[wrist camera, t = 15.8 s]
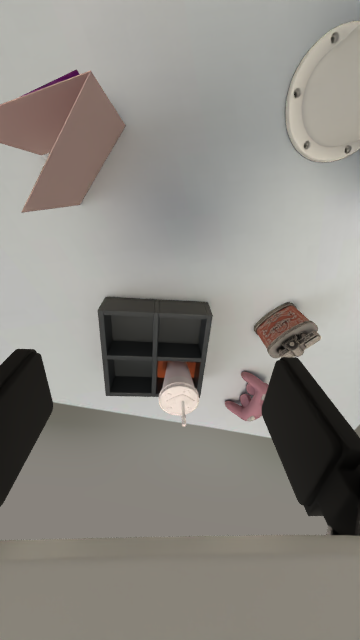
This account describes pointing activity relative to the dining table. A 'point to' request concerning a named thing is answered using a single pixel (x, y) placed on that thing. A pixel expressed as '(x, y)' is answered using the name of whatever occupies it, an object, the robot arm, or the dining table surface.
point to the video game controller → (253, 406)
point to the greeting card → (63, 136)
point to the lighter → (286, 331)
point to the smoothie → (178, 391)
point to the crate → (151, 342)
